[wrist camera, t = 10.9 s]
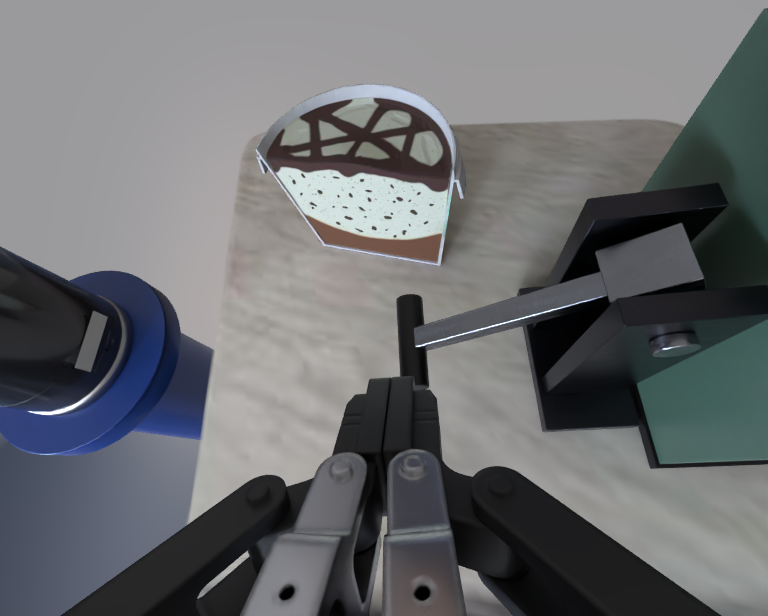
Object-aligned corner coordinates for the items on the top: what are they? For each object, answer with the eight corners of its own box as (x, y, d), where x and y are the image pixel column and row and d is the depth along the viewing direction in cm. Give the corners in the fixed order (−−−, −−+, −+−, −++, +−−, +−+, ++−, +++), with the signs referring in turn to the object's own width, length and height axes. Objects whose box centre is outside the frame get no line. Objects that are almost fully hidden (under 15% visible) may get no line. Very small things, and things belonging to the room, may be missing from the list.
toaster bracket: (542, 432, 23) (632, 390, 12) (517, 294, 27) (566, 157, 15) (632, 427, 23) (824, 378, 11) (594, 287, 26) (708, 137, 14)
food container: (477, 200, 30) (488, 82, 21) (460, 269, 28) (464, 171, 19) (331, 181, 33) (285, 71, 24) (306, 242, 31) (247, 148, 22)
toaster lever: (417, 393, 21) (389, 387, 20) (411, 308, 23) (385, 296, 22) (723, 337, 14) (721, 318, 12) (676, 218, 16) (669, 188, 14)
